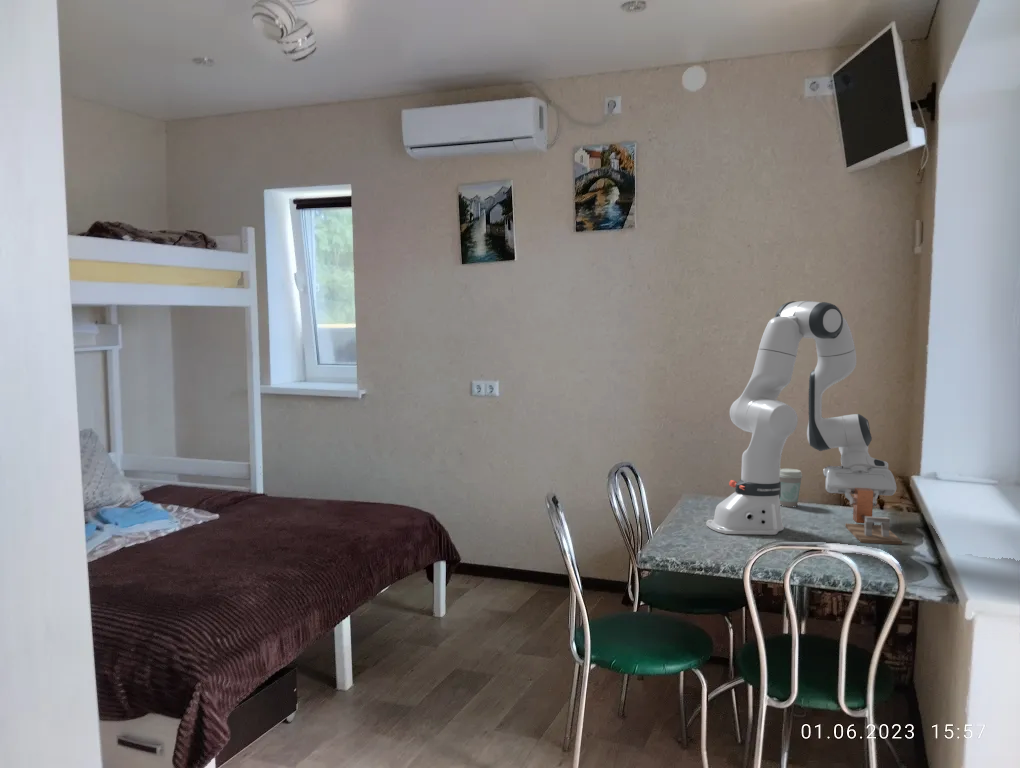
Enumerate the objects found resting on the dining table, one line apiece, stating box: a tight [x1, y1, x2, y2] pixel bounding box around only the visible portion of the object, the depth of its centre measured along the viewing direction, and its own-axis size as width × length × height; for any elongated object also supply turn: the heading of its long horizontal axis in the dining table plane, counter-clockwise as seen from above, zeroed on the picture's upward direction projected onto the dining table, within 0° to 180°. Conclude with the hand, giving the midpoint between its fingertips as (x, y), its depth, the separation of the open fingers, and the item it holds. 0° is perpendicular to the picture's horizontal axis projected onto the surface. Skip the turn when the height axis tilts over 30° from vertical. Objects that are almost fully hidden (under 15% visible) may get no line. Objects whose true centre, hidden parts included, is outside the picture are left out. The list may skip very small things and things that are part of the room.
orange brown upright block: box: [852, 488, 875, 526], centre depth 246 cm, size 12×4×10 cm, turn 170°
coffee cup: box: [779, 467, 803, 508], centre depth 276 cm, size 8×9×12 cm
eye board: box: [844, 516, 903, 545], centre depth 238 cm, size 18×11×6 cm, turn 170°
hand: (863, 504), depth 249 cm, fingers closed on orange brown upright block, 4 cm apart
